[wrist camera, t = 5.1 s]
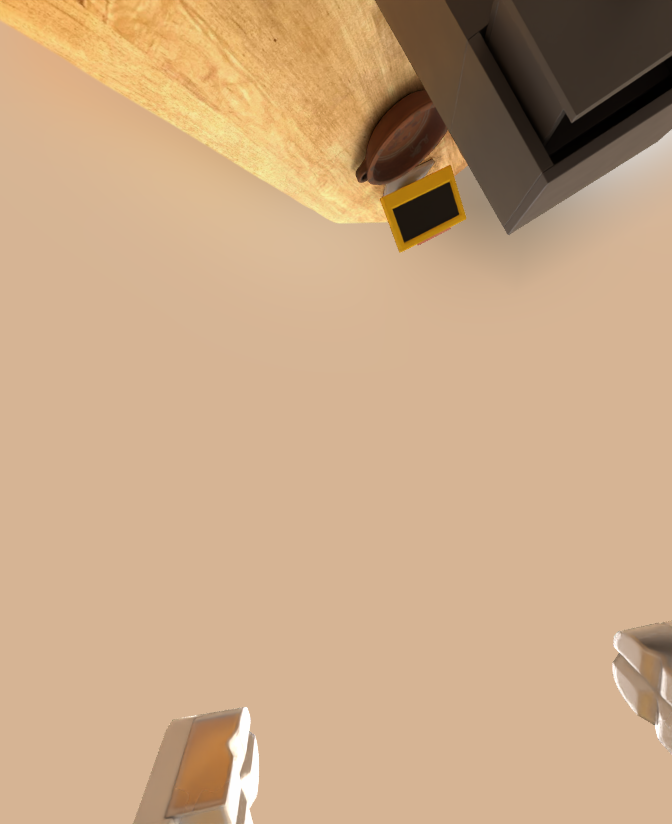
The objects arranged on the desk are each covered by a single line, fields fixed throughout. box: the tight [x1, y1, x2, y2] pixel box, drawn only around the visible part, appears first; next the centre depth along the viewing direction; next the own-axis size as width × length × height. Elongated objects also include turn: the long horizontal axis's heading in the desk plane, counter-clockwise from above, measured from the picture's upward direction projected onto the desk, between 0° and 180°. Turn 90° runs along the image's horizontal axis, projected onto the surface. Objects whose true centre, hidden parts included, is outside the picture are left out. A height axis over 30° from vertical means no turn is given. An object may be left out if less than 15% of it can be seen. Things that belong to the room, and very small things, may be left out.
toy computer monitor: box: [380, 159, 466, 252], centre depth 89 cm, size 20×8×16 cm, turn 80°
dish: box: [356, 90, 448, 185], centre depth 68 cm, size 18×22×5 cm
